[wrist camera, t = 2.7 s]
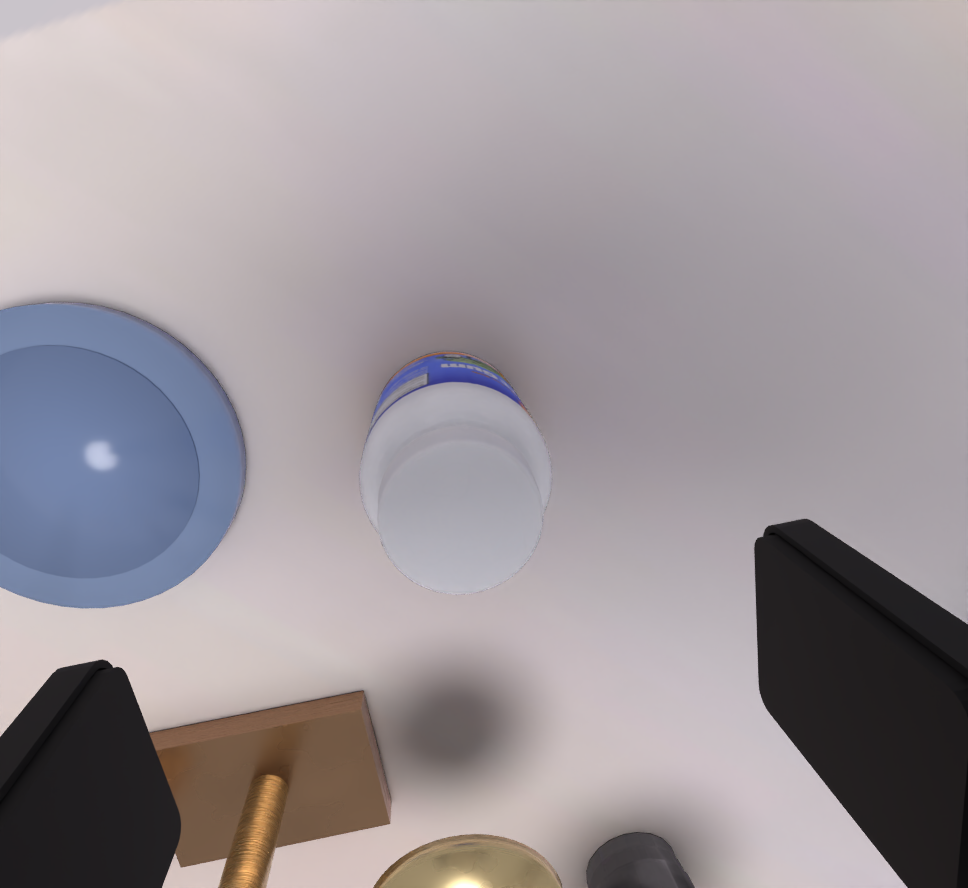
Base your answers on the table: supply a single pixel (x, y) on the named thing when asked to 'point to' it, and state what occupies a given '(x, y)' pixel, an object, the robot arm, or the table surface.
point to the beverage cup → (636, 864)
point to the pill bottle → (454, 474)
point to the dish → (108, 457)
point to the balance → (311, 799)
